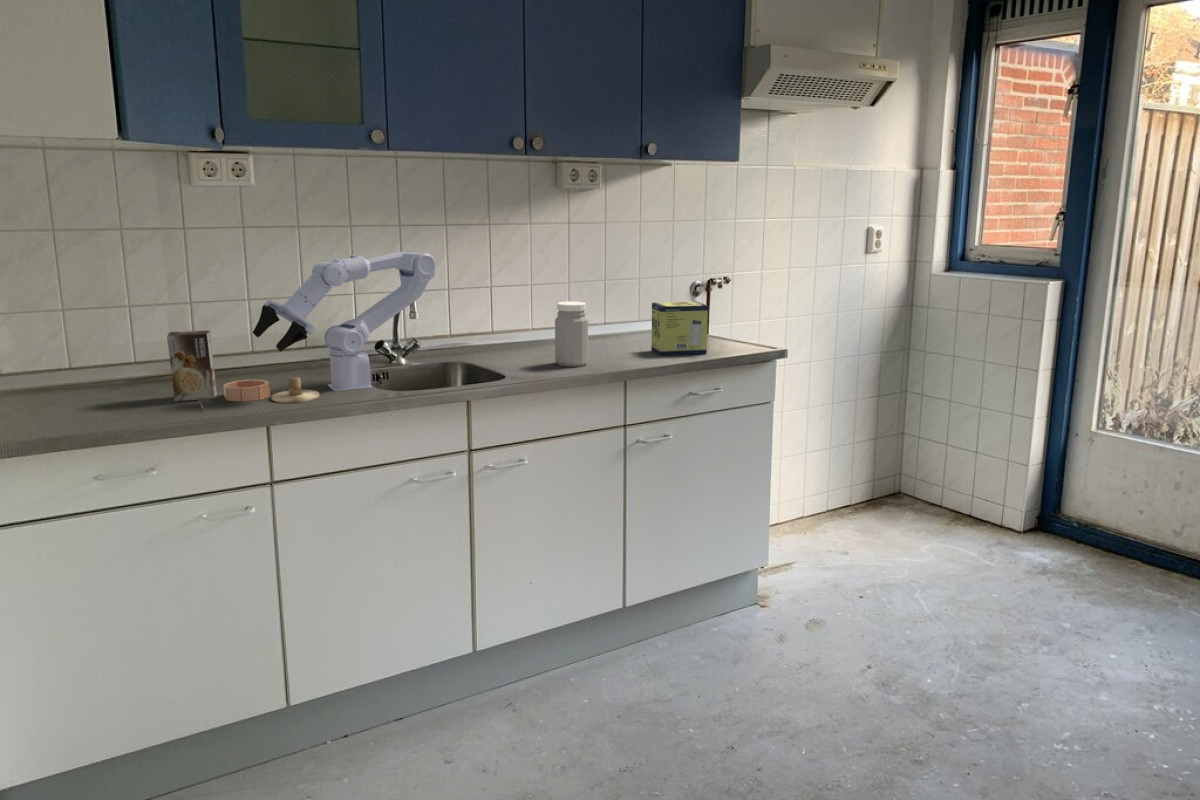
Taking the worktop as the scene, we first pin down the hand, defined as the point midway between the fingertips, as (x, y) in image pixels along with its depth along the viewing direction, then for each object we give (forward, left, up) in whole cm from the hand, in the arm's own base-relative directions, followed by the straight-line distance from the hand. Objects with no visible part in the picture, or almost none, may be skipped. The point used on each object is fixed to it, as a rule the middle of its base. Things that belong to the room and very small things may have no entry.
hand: (266, 342), depth 213 cm
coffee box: (+16, -11, -14) cm, 24 cm away
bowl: (+5, -4, -14) cm, 15 cm away
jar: (-85, -7, -14) cm, 87 cm away
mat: (-6, +3, -14) cm, 15 cm away
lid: (-5, +3, -14) cm, 15 cm away
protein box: (-124, -9, -14) cm, 125 cm away
